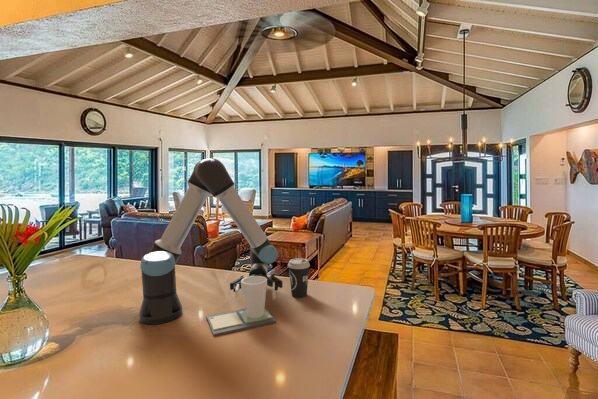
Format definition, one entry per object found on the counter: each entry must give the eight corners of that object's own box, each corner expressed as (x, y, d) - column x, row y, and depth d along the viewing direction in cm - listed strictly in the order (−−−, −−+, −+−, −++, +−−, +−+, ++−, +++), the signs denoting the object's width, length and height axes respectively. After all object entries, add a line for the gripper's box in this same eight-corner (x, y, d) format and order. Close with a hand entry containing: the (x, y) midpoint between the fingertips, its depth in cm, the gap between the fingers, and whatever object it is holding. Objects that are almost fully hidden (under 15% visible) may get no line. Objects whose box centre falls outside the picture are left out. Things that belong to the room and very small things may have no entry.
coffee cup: (301, 301, 142) (300, 265, 140) (283, 296, 147) (282, 261, 146) (314, 293, 149) (314, 260, 148) (297, 289, 155) (296, 256, 153)
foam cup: (240, 311, 130) (238, 277, 129) (264, 307, 133) (263, 274, 132) (245, 321, 121) (244, 286, 120) (270, 317, 124) (269, 282, 123)
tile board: (213, 336, 114) (213, 332, 114) (206, 318, 127) (206, 315, 127) (276, 322, 123) (276, 319, 123) (263, 307, 136) (262, 304, 136)
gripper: (287, 281, 148) (289, 301, 127) (229, 283, 147) (221, 304, 126) (287, 264, 147) (289, 281, 126) (228, 266, 146) (220, 284, 125)
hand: (255, 292), depth 126 cm, fingers open, 13 cm apart
